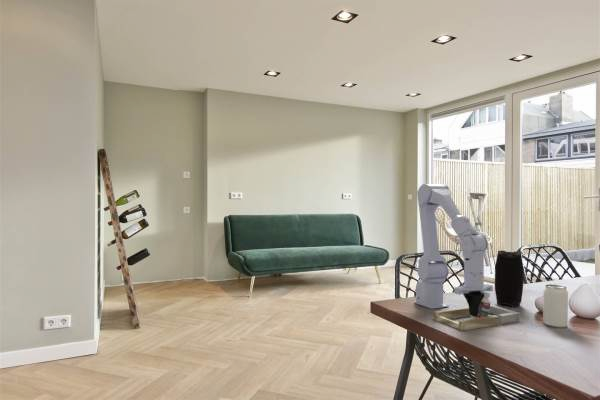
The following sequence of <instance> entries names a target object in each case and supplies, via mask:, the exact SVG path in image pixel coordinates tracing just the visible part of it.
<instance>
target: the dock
mask: <svg viewBox="0 0 600 400" xmlns="http://www.w3.org/2000/svg"><path fill="white" fill-rule="evenodd" d="M488 314H492V315H496V316H499V324H501V325H503V324H509V323H514V322H519V321H520V312H518V311H517V312H516V311H514V310H510V309H507V308H504V307H500V306H497V305H493V304H490V308H489V313H488Z"/></svg>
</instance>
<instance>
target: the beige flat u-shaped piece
mask: <svg viewBox="0 0 600 400" xmlns="http://www.w3.org/2000/svg"><path fill="white" fill-rule="evenodd" d="M462 317H464V318H465V317H470V313H469V306H465V307H464V306H463V307H458V308H457V307H456V308H450V309H442V310H436V311H433V320H435V321H437V322H440V323H442V324H445V325H447V326H450V327H453V328H455V329H458V330H460V331H470V330H473V329H474V330H475V329H476V330H477V329H480V328H486V327H492V326H493V327H494V326H498V325H499V324H500V323H499V316H498V315H494V314H492V315H488V316H486V317H480V318H469V319H463V320H462V319H461V320H458V321H455V320H452V319H456V318H462Z"/></svg>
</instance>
